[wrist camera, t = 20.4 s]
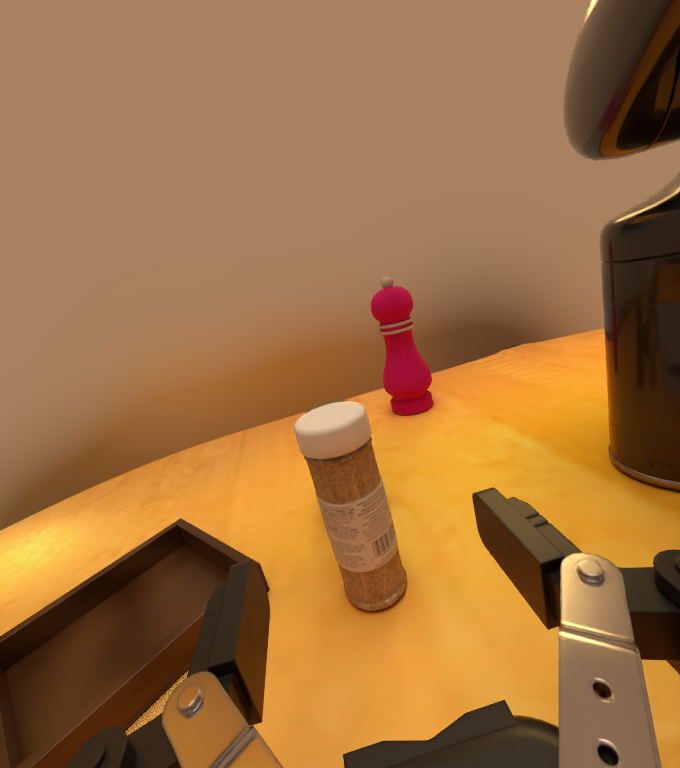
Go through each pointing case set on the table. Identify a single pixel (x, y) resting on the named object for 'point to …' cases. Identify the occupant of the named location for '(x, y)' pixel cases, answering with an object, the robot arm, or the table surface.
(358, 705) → the table surface
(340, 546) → the sprinkles bottle
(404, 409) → the pepper mill
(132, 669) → the tray
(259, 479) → the table surface
